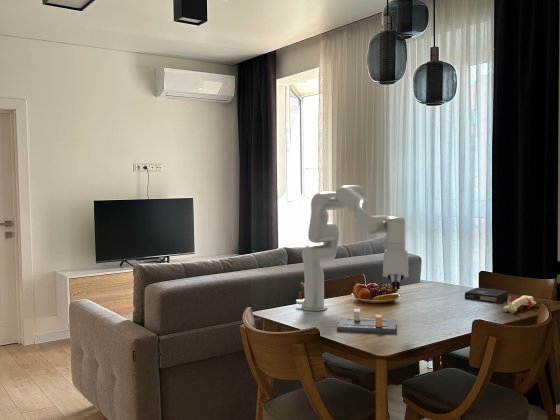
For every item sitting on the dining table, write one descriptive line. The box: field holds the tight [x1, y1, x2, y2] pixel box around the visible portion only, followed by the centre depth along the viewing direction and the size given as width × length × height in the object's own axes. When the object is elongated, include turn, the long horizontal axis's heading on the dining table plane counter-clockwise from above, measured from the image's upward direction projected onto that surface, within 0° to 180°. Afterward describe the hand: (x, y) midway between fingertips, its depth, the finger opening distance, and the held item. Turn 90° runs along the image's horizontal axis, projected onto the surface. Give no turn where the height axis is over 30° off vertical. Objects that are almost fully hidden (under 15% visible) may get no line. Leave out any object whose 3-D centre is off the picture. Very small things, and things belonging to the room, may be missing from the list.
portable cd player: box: [464, 287, 509, 304], centre depth 293 cm, size 16×17×4 cm
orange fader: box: [375, 314, 383, 327], centre depth 233 cm, size 2×4×4 cm, turn 168°
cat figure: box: [501, 295, 537, 315], centre depth 269 cm, size 10×9×25 cm
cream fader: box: [353, 308, 361, 321], centre depth 244 cm, size 2×4×4 cm, turn 169°
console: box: [336, 317, 397, 335], centre depth 239 cm, size 24×16×2 cm, turn 79°
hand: (395, 290), depth 231 cm, fingers closed
